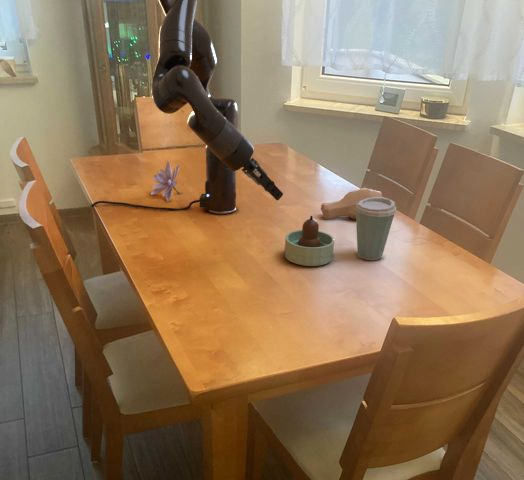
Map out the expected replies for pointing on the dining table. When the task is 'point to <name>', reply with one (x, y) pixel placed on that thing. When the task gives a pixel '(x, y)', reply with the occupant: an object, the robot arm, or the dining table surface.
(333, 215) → the squash
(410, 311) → the dining table surface
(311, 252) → the bowl
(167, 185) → the water lily
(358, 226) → the disposable coffee cup
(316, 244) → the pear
